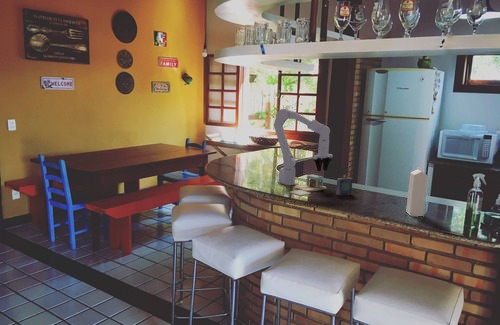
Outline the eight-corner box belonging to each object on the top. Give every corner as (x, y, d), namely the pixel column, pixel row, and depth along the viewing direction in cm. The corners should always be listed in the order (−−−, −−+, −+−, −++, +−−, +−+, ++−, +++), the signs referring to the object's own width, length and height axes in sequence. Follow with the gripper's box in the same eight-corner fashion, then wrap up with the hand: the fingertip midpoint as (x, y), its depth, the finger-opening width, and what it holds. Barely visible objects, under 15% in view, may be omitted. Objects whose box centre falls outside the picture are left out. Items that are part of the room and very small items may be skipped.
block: (309, 187, 225) (309, 179, 224) (314, 186, 228) (314, 178, 227) (314, 189, 222) (315, 180, 221) (319, 188, 224) (320, 179, 224)
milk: (409, 216, 177) (414, 168, 173) (405, 212, 183) (410, 165, 179) (423, 217, 176) (429, 168, 172) (419, 213, 182) (424, 166, 178)
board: (293, 188, 221) (293, 186, 221) (313, 185, 231) (313, 183, 231) (306, 192, 213) (306, 190, 213) (326, 188, 224) (326, 186, 224)
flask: (337, 195, 209) (338, 175, 207) (334, 194, 211) (335, 174, 210) (352, 195, 212) (354, 175, 210) (349, 193, 214) (350, 174, 213)
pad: (289, 192, 211) (289, 191, 211) (300, 190, 216) (300, 189, 216) (300, 195, 205) (300, 194, 205) (310, 194, 210) (310, 192, 210)
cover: (306, 184, 226) (306, 175, 225) (312, 183, 229) (312, 174, 228) (316, 187, 220) (317, 177, 219) (322, 186, 223) (323, 176, 222)
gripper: (320, 148, 217) (318, 173, 219) (337, 147, 226) (335, 170, 228) (310, 147, 222) (309, 170, 224) (327, 146, 231) (326, 168, 233)
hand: (321, 170), depth 227 cm, fingers open, 5 cm apart
